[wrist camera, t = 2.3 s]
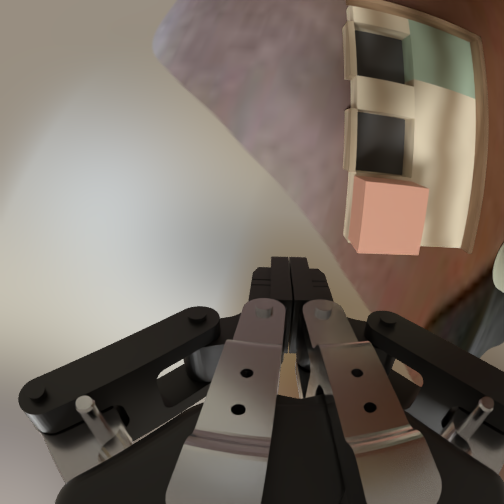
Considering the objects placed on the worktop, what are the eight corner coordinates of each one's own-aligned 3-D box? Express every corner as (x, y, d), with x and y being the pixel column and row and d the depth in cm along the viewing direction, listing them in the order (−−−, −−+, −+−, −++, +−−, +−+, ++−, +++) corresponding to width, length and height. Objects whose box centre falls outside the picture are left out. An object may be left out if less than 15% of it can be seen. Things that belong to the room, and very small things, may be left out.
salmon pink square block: (412, 181, 23) (429, 188, 20) (403, 241, 26) (418, 255, 22) (354, 175, 24) (365, 181, 21) (348, 238, 26) (357, 253, 23)
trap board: (461, 43, 18) (480, 37, 15) (453, 240, 27) (471, 253, 24) (340, 9, 19) (349, -7, 16) (337, 234, 28) (346, 248, 25)
